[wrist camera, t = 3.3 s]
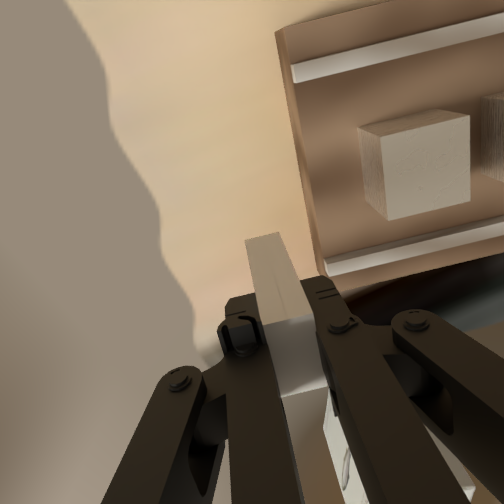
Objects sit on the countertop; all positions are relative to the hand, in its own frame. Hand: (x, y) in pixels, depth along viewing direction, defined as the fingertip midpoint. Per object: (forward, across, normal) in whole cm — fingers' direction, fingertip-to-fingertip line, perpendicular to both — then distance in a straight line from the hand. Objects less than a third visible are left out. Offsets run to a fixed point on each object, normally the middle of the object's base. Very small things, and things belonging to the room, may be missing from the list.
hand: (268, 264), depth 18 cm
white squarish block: (+10, +10, 0) cm, 15 cm away
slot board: (+14, +14, 0) cm, 20 cm away
